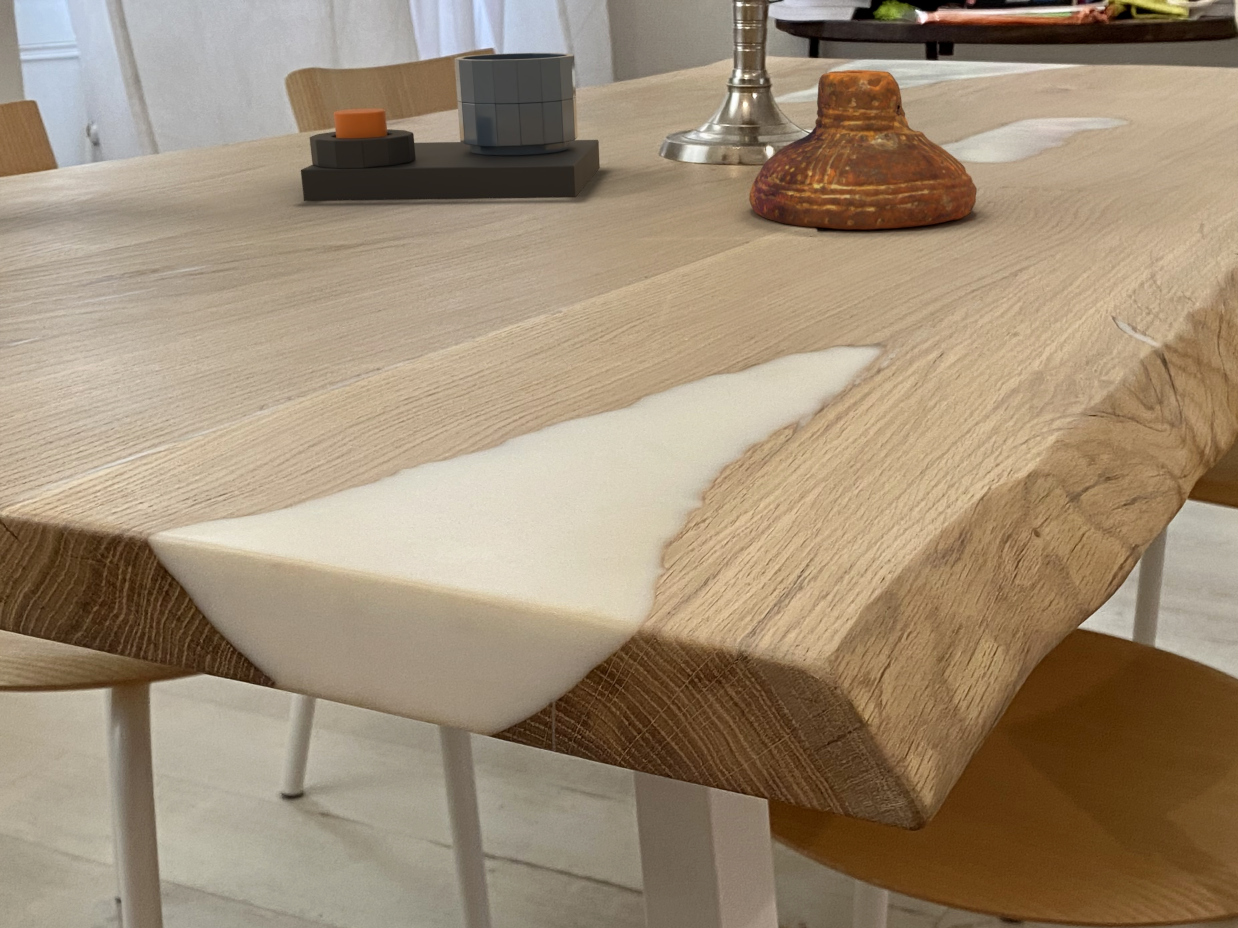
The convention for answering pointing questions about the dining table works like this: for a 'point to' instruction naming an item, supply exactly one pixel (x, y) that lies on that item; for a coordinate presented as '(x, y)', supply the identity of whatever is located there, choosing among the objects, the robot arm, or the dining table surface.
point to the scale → (439, 170)
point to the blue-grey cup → (516, 103)
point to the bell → (862, 165)
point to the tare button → (360, 123)
